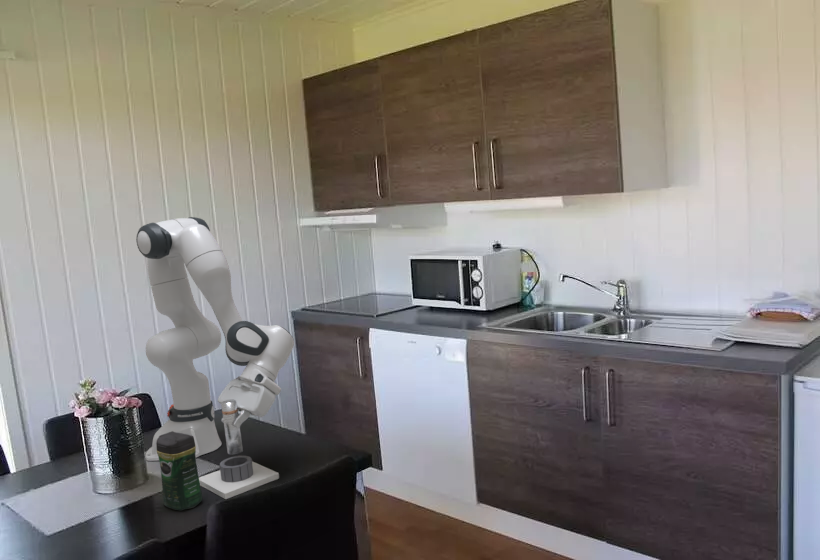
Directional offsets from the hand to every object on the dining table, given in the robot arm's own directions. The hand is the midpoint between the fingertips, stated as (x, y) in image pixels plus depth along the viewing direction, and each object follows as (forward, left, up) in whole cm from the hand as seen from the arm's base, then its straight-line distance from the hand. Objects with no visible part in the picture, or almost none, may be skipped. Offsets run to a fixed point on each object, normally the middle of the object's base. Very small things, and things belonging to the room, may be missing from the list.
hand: (229, 424), depth 188 cm
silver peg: (+1, 0, -8) cm, 8 cm away
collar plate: (0, 0, -16) cm, 16 cm away
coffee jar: (-12, -11, -16) cm, 23 cm away
